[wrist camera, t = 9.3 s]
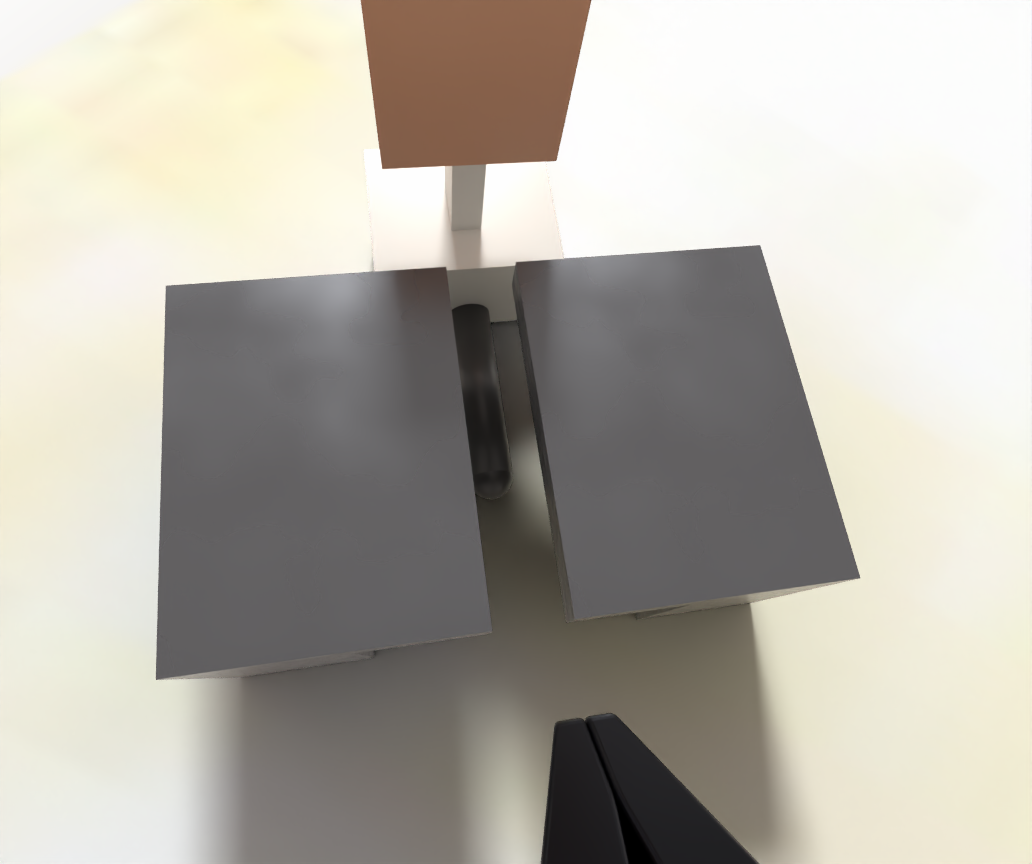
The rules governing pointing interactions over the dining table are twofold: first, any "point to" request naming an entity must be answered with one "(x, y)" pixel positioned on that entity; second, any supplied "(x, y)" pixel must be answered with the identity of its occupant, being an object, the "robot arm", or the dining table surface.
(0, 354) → the dining table surface
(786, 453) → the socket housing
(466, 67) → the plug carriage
